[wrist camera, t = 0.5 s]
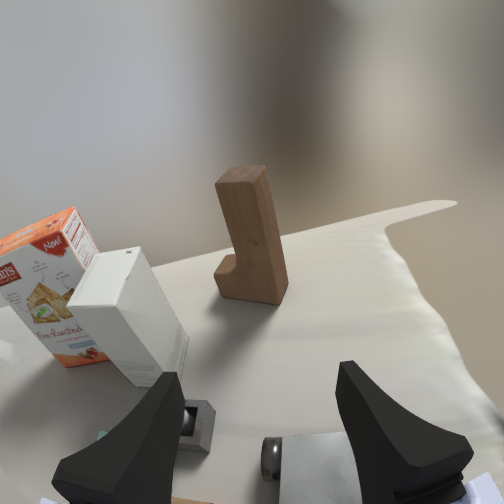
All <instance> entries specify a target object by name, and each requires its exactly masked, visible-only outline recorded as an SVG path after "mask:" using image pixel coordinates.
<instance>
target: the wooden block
mask: <svg viewBox="0 0 504 504" xmlns="http://www.w3.org/2000/svg"><path fill="white" fill-rule="evenodd" d="M215 188H216V191H217V195H218V198H219V201H220V205H221V208H222V211H223V214H224V218H225V221H226V224H227V228H228V231H229V234H230V238H231V241H232V244H233V247H234V251H235V254H231V255H226V256H225V257H224V259H223V260H222V262H221V263H220V265H219V266H218V268H217V269H216V271H215V272H214V279H215V281H216V284H217V286H218V289H219V291H220V294H221V296H222V297H227V298H233V299H240V300H247V301H254V302H261V303H268V304H276V305H279V304H280V303H281V300H282V298H283V295H284V293H285V290H286V288H287V286H288V283H289V282H288V277H287V271H286V266H285V260H284V255H283V250H282V245H281V240H280V235H279V230H278V225H277V220H276V214H275V210H274V205H273V200H272V195H271V190H270V185H269V180H268V176H267V171H266V167H265V166H263V165H261V166H242V167H241V166H240V167H231V168H230V169H229V170H228V171H227V172H226V173H225V174H224V175H223V176H222V177H221V178H220V179H219V180H218V181H217V182H216V183H215Z"/></svg>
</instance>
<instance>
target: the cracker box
mask: <svg viewBox="0 0 504 504" xmlns="http://www.w3.org/2000/svg"><path fill="white" fill-rule="evenodd" d="M99 253H100V252H99V250H98V249H97V247H96V245H95V243H94V241H93V239H92V238H91V236H90V234H89V232H88V230H87V228H86V226H85V224H84V222H83V220H82V219H81V217H80V215H79V213H78V211H77V209H76V207H75V206H73V207H70V208H68V209H66V210H63V211H61V212H59V213H56V214H54V215H52V216H50V217H48V218H45V219H43V220H41V221H39V222H36V223H34V224H32V225H30V226H27V227H25V228H23V229H21V230H19V231H17V232H15V233H13V234H11V235H9V236H6V237H5V238H3V239H1V240H0V293H1V294H2V296H3V297H4V298H5V300H6V301H7V302H8V303H9V305H10V306H11V307H12V309H13V310H14V311H15V312H16V314H17V315H18V316H19V317H20V318H21V320H22V321H23V322H24V323H25V324H26V326H27V327H28V328H29V329H30V330H31V331H32V333H33V334H34V335H35V336H36V337H37V338H38V339H39V340H40V342H41V343H42V344H43V345H44V346H45V347H46V348H47V349H48V350H49V351H50V352H51V353H52V354H53V355H54V356H55V357H56V358H57V359H58V360H59V361H60V362H61V363H62V364H63V365H64V366H65V367H66V368H67V367H72V366H78V365H84V364H90V363H96V362H101V361H107V360H110V359H109V358H108V356H107V355H106V354H105V353H104V352H103V351H102V350H101V348H100V347H99V346H98V345H97V344H96V343H95V342H94V340H93V339H92V338H91V337H90V336H89V334H88V333H87V332H86V331H85V330H84V328H83V327H82V326H81V325H80V323H79V322H78V321H77V320H76V318H75V317H74V316H73V315H72V313H71V312H70V311H69V309H68V308H67V307H66V306H67V304H68V302H69V300H70V298H71V296H72V295H73V293H74V291H75V289H76V287H77V286H78V284H79V282H80V280H81V279H82V277H83V275H84V273H85V272H86V270H87V268H88V266H89V265H90V263H91V261H92V259H93V258H94V256H95V254H99Z"/></svg>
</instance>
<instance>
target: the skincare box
mask: <svg viewBox="0 0 504 504" xmlns="http://www.w3.org/2000/svg"><path fill="white" fill-rule="evenodd" d="M66 307H67V308H68V309H69V311H70V312H71V313H72V315H73V316H74V317H75V318H76V320H77V321H78V322H79V323H80V325H81V326H82V327H83V328H84V330H85V331H86V332H87V333H88V334H89V336H90V337H91V338H92V339H93V340H94V342H95V343H96V344H97V345H98V346H99V347H100V348H101V350H102V351H103V352H104V353H105V354H106V355H107V356H108V358H109V359H110V360H111V361H112V362H113V363H114V364H115V365H116V366H117V367H118V368H119V370H120V371H121V372H122V373H123V374H124V375H125V376H126V377H127V378H128V379H129V380H130V381H131V382H132V383H133V384H134V385H135V386H137V387H152V386H153V385H154V383H155V382H156V381H157V379H158V378H159V377H160V375H161V374H162V373H163V372H177V375H178V378H179V382H180V379H181V374H182V369H183V364H184V359H185V354H186V349H187V344H188V339H189V337H188V335H187V334H186V332H185V330H184V329H183V327H182V325H181V323H180V322H179V320H178V318H177V316H176V315H175V313H174V311H173V309H172V307H171V306H170V304H169V302H168V300H167V298H166V296H165V295H164V293H163V291H162V289H161V287H160V285H159V283H158V281H157V279H156V278H155V276H154V274H153V272H152V270H151V268H150V266H149V264H148V262H147V260H146V258H145V256H144V254H143V251H142V249H141V247H134V248H128V249H123V250H117V251H112V252H104V253H99V254H95V256H94V258H93V259H92V261H91V263H90V265H89V266H88V268H87V270H86V272H85V273H84V275H83V277H82V279H81V280H80V282H79V284H78V286H77V287H76V289H75V291H74V293H73V295H72V296H71V298H70V300H69V302H68V304H67V306H66Z"/></svg>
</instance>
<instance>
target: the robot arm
mask: <svg viewBox="0 0 504 504" xmlns="http://www.w3.org/2000/svg"><path fill="white" fill-rule="evenodd" d="M335 395H336V400H337V405H338V409H339V413H340V416H341V419H342V422H343V425H344V428H345V430H346V433H347V436H348V439H349V442H350V445H351V448H352V451H353V454H354V458H355V463H356V467H357V472H358V478H359V484H360V490H361V497H362V504H504V500H503V498H502V496H501V494H500V492H499V490H498V488H497V486H496V484H495V482H494V480H493V478H492V477H491V475H490V473H489V472H486V473H484V474H482V475H480V476H479V477H477V478H475V479H473V480H471V481H469V482H467V483H466V484H465V485H463V483H462V481H461V480H463V478H464V477H463V475H462V473H461V472H462V470H463V469H464V468H465V467H466V465H467V464H468V463H469V462H470V460H471V459H472V457H473V454H474V451H473V450H472V448H471V446H470V444H469V442H468V441H467V439H466V438H465V436H462V435H459V434H456V433H453V432H449V431H447V430H444V429H442V428H439V427H437V426H435V425H433V424H430V423H428V422H427V421H425V420H423V419H421V418H419V417H417V416H416V415H414V414H412V413H411V412H409V411H408V410H406V409H405V408H404V407H402V406H401V405H399V404H398V403H397V402H396V401H394V400H393V399H392V398H391V397H390V396H388V395H387V394H386V393H385V392H384V391H383V390H382V389H381V388H380V387H379V386H378V385H376V384H375V383H374V382H373V381H372V380H371V379H370V378H369V377H368V376H367V374H366V373H365V372H364V371H363V370H362V369H361V368H360V367H359V366H358V365H357V364H356V363H355V362H354V361H353V360H352V361H345V362H340V365H339V372H338V379H337V385H336V391H335ZM184 412H185V399H184V396H183V392H182V389H181V385H180V382H179V378H178V375H177V372H163V373H162V374H161V375H160V377H159V378H158V379H157V381H156V382H155V383H154V385H153V386H152V387H151V389H150V390H149V391H148V392H147V394H146V395H145V396H144V397H143V398H142V400H141V401H140V402H139V403H138V404H137V406H136V407H135V408H134V409H133V410H132V411H131V412H130V413H129V414H128V415H127V416H126V417H125V418H124V419H123V420H122V421H121V422H120V423H119V424H118V425H117V426H116V427H115V428H113V429H112V430H111V431H110V432H108V433H107V434H106V435H104V436H103V437H102V438H100V439H99V440H98V441H96V442H94V443H93V444H91V445H90V446H88V447H86V448H84V449H83V450H81V451H79V452H77V453H75V454H73V455H71V456H68V457H66V458H64V459H61V461H60V463H59V465H58V467H57V469H56V472H55V474H54V477H53V479H52V482H51V483H52V485H53V487H54V488H55V489H56V490H57V491H58V492H59V493H60V494H61V495H62V496H63V497H64V498H65V499H66V500H67V501H69V502H70V504H171V493H172V479H173V468H174V462H175V457H176V452H177V448H178V444H179V439H180V435H181V430H182V426H183V421H184ZM39 504H60V503H57V502H54V501H52V500H49V499H46V498H44V497H42V498H41V500H40V503H39Z"/></svg>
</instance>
